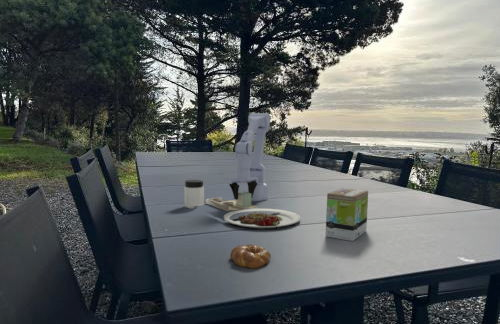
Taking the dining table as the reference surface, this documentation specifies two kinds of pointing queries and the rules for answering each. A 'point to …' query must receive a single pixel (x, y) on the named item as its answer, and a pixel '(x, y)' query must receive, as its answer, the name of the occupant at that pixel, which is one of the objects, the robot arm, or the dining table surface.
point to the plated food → (263, 218)
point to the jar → (193, 193)
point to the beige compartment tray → (225, 204)
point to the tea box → (346, 214)
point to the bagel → (250, 256)
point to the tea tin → (244, 199)
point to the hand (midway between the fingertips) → (243, 198)
